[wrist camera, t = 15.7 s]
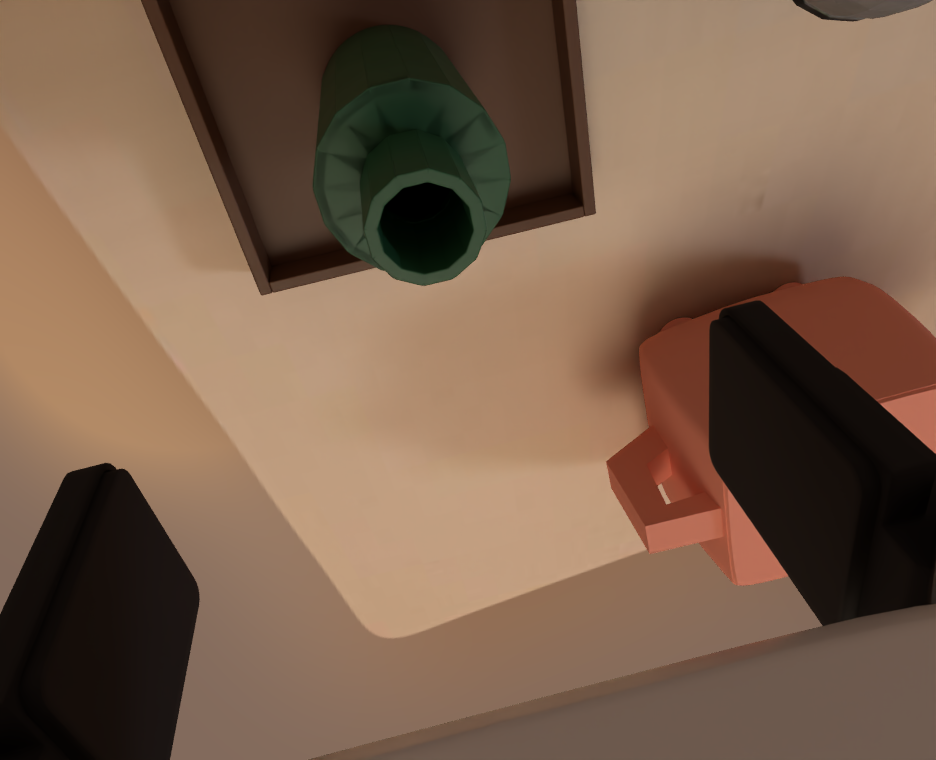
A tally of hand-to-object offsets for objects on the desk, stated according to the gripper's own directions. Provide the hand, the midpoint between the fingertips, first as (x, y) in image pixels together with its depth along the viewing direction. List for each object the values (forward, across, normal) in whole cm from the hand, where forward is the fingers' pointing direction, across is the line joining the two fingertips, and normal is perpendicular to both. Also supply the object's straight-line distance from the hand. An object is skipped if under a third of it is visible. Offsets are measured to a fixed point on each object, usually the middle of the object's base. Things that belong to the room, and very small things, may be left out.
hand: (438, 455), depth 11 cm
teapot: (+27, -19, +21) cm, 39 cm away
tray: (+27, -1, 0) cm, 27 cm away
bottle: (+26, -1, 0) cm, 26 cm away
